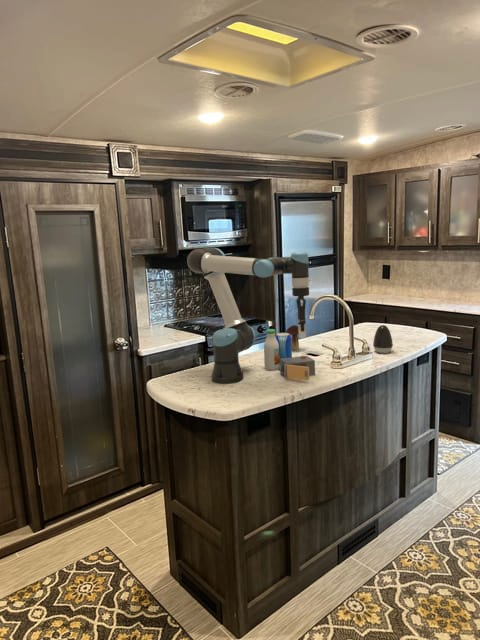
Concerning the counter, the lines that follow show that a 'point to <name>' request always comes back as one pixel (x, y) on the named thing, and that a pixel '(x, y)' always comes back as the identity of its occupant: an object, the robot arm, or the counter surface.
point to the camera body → (298, 363)
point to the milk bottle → (271, 351)
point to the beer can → (284, 345)
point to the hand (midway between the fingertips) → (302, 335)
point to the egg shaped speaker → (383, 340)
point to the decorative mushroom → (294, 336)
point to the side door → (296, 372)
